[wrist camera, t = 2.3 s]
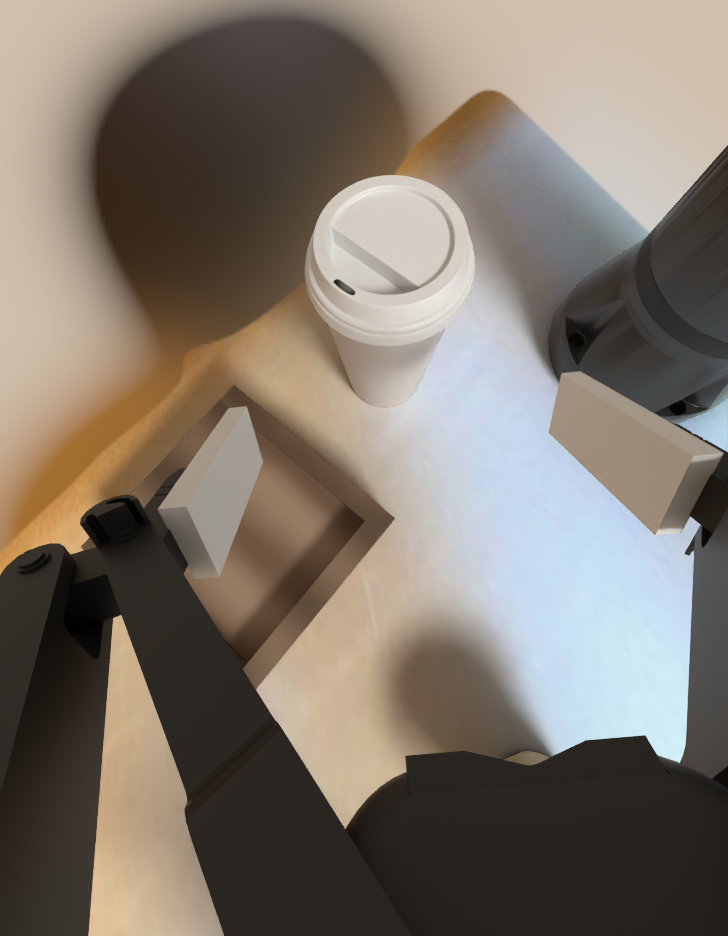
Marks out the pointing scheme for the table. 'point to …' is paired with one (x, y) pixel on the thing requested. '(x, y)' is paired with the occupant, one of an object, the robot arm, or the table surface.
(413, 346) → the coffee cup
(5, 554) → the table surface
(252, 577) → the walnut stand
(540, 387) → the table surface
